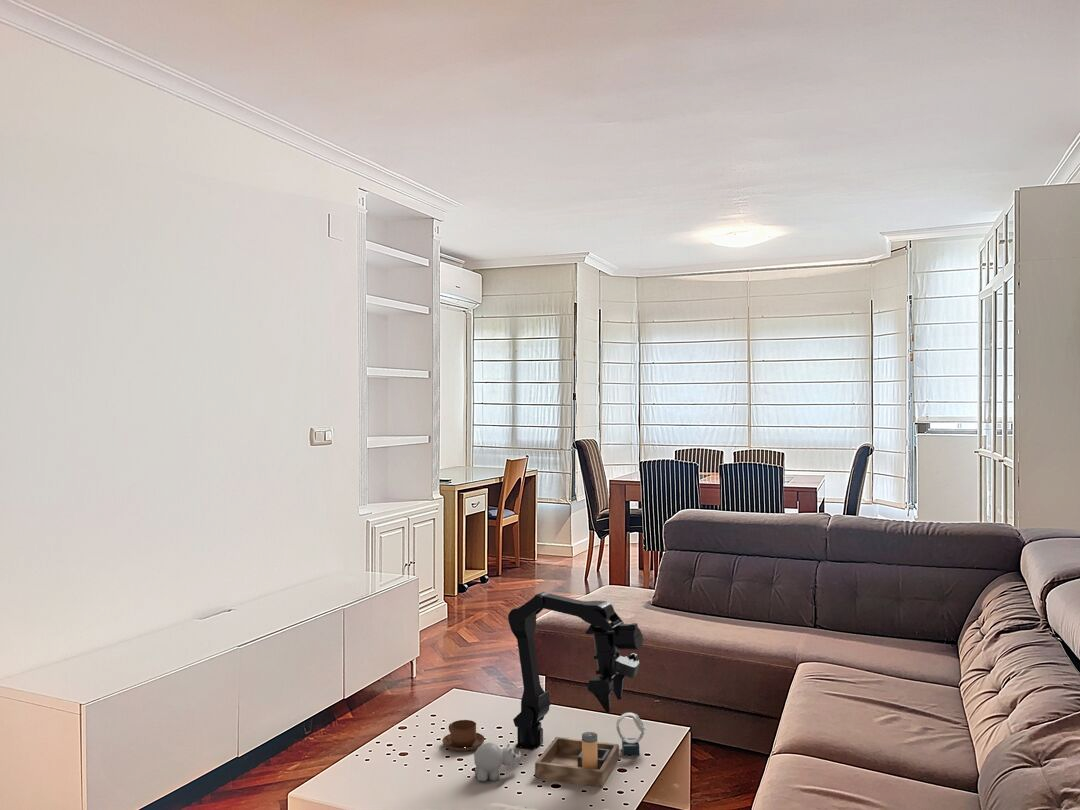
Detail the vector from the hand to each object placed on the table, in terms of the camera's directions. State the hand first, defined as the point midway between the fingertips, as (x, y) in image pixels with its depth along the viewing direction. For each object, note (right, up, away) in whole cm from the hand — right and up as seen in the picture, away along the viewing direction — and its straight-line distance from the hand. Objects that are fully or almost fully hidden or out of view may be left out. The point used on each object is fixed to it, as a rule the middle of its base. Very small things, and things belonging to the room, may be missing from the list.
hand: (614, 705), depth 228 cm
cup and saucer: (-42, -16, +12) cm, 47 cm away
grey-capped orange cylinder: (-7, -15, -11) cm, 20 cm away
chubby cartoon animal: (-31, -16, -9) cm, 36 cm away
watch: (+5, -15, +5) cm, 17 cm away
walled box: (-10, -15, -6) cm, 19 cm away
